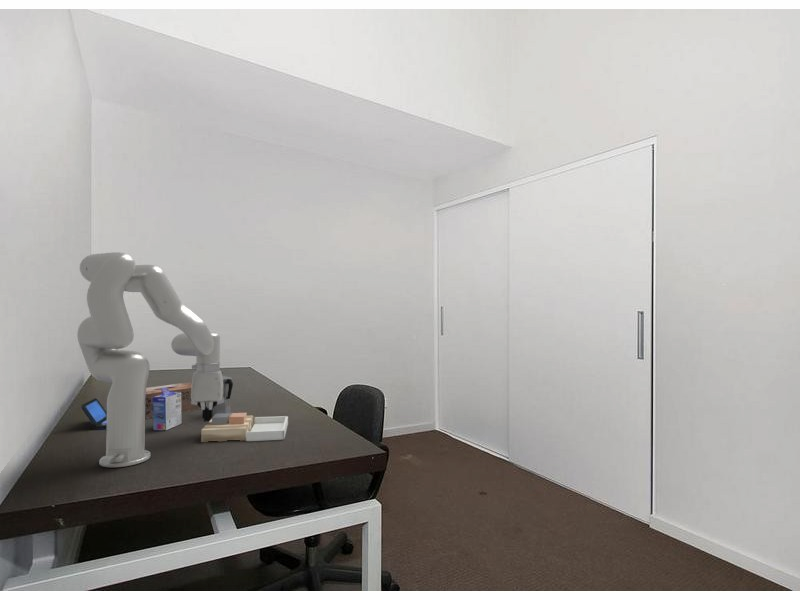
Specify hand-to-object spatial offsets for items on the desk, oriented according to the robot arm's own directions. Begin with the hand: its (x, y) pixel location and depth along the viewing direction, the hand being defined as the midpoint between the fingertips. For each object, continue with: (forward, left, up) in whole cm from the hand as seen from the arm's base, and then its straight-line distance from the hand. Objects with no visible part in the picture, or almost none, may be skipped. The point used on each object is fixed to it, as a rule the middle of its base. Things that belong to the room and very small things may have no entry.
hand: (207, 420), depth 156 cm
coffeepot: (+28, +1, -5) cm, 28 cm away
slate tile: (0, -5, -1) cm, 5 cm away
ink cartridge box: (+13, +17, -5) cm, 22 cm away
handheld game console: (+21, +40, -5) cm, 45 cm away
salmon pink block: (0, -10, -1) cm, 10 cm away
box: (0, -20, -5) cm, 21 cm away
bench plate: (0, -7, -5) cm, 9 cm away
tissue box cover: (+40, +26, -5) cm, 48 cm away
